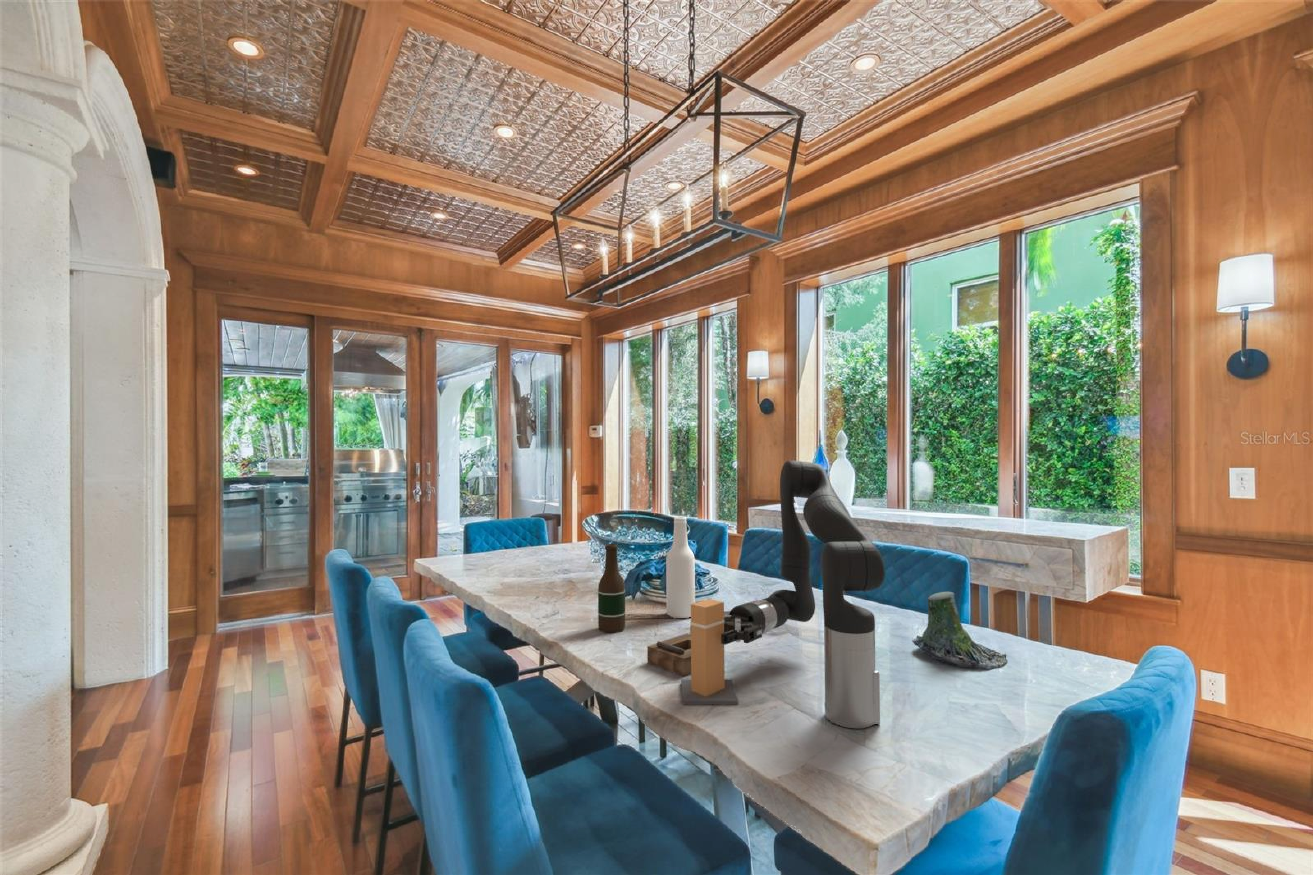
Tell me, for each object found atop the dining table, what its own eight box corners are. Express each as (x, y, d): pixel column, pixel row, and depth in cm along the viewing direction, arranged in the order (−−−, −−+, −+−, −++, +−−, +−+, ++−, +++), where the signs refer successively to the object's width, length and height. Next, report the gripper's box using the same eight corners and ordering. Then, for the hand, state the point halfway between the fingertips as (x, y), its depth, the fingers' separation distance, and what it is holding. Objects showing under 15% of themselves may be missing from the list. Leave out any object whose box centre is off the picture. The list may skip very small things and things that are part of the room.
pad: (731, 683, 130) (731, 679, 130) (737, 704, 119) (737, 700, 119) (681, 683, 130) (681, 679, 130) (682, 704, 119) (682, 700, 119)
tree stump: (1021, 676, 134) (1000, 598, 135) (928, 689, 139) (908, 614, 140) (995, 645, 152) (976, 577, 153) (914, 658, 157) (896, 592, 157)
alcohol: (661, 613, 185) (661, 516, 186) (686, 610, 189) (686, 515, 190) (674, 620, 177) (673, 519, 178) (700, 617, 181) (699, 518, 182)
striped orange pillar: (691, 691, 124) (690, 604, 124) (710, 682, 128) (709, 598, 129) (706, 696, 121) (705, 607, 122) (724, 688, 126) (724, 602, 126)
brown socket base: (647, 663, 143) (647, 641, 143) (687, 648, 152) (687, 628, 153) (684, 676, 134) (684, 653, 134) (723, 660, 144) (723, 638, 144)
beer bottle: (630, 627, 171) (630, 543, 171) (615, 635, 164) (614, 547, 165) (608, 623, 175) (608, 541, 175) (592, 630, 168) (592, 545, 169)
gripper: (728, 597, 141) (681, 610, 130) (779, 608, 131) (733, 623, 120) (728, 629, 141) (681, 645, 130) (779, 642, 131) (733, 661, 120)
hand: (706, 634), depth 125 cm, fingers open, 8 cm apart
